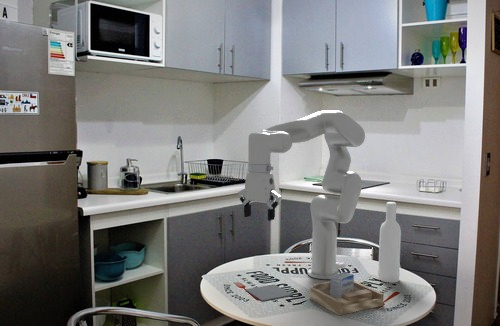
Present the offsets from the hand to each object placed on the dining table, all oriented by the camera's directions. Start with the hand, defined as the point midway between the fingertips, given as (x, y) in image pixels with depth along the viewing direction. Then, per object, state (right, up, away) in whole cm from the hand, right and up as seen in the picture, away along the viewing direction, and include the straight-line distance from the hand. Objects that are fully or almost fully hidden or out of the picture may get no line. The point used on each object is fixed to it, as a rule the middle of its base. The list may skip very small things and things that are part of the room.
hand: (259, 218), depth 173 cm
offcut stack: (+32, -28, -7) cm, 43 cm away
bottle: (+50, -26, +21) cm, 60 cm away
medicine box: (+28, -28, -1) cm, 40 cm away
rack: (+29, -28, -3) cm, 41 cm away
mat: (+3, -27, +5) cm, 27 cm away
